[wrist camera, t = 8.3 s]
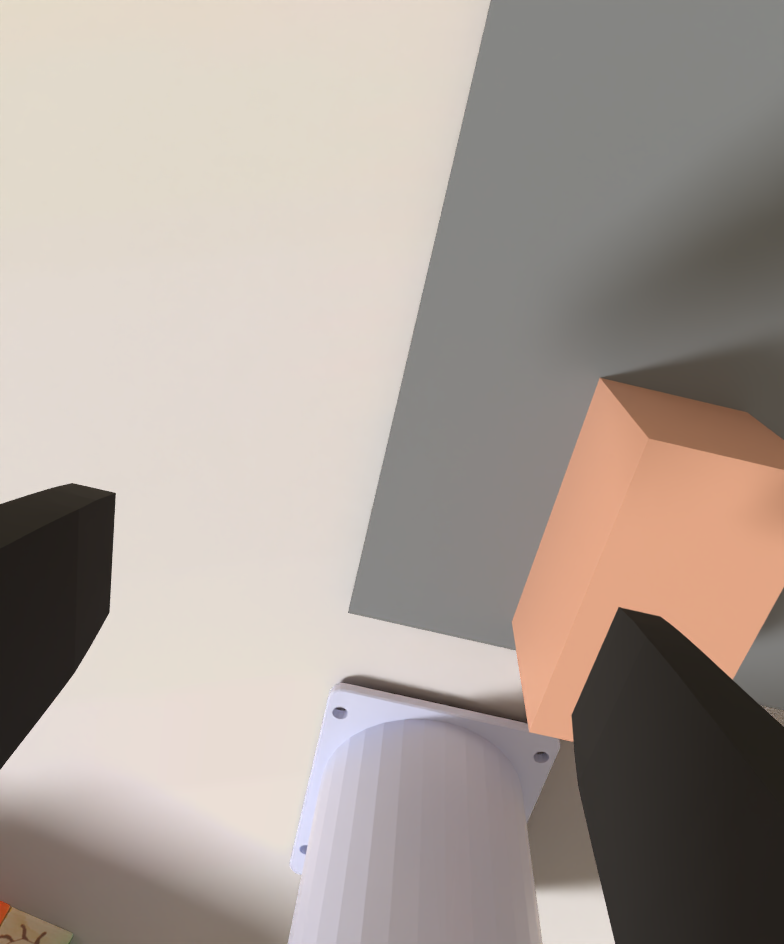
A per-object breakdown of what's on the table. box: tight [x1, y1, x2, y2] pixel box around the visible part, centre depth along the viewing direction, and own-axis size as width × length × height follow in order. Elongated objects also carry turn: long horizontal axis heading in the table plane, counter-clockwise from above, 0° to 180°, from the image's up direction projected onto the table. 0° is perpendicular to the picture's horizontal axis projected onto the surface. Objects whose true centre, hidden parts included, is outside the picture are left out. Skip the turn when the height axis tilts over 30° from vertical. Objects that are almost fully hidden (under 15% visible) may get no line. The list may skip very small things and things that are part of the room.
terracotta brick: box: [512, 378, 784, 742], centre depth 17 cm, size 8×4×4 cm, turn 168°
